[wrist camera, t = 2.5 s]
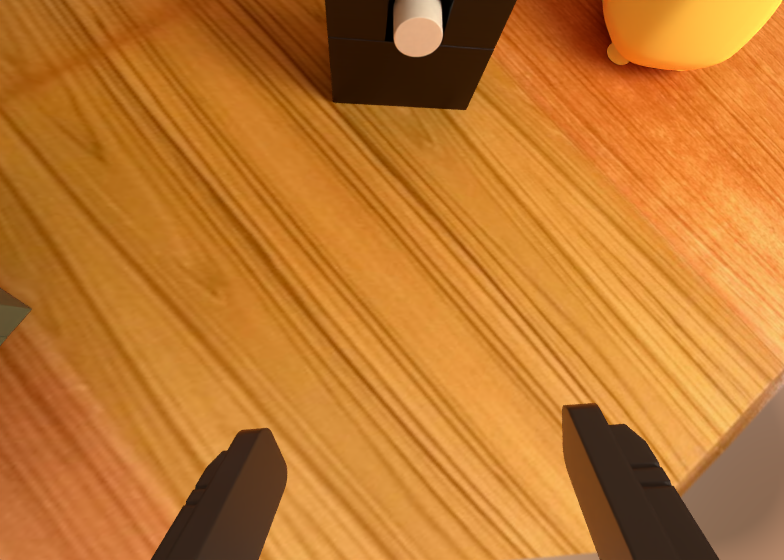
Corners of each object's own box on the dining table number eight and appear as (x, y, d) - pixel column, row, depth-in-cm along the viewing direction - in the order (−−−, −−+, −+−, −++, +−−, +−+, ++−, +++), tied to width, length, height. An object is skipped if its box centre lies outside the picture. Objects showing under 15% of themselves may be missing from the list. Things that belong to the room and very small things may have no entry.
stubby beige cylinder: (436, 58, 26) (448, 19, 23) (391, 55, 26) (396, 15, 23) (435, 29, 27) (446, -13, 24) (391, 26, 26) (396, -18, 23)
